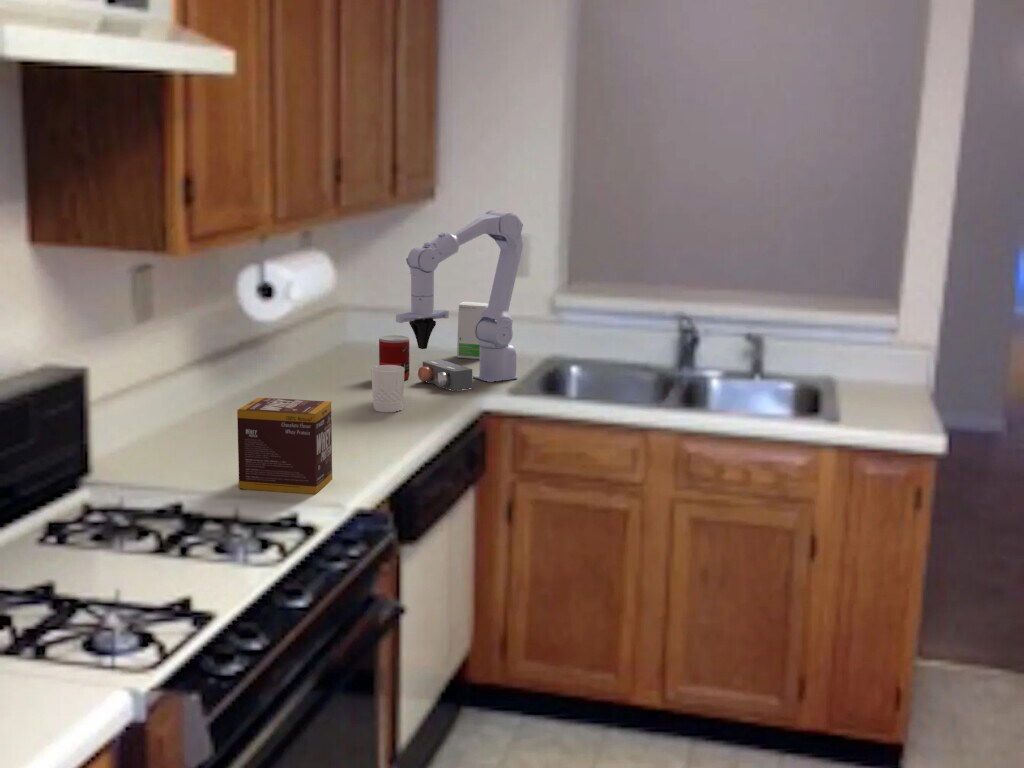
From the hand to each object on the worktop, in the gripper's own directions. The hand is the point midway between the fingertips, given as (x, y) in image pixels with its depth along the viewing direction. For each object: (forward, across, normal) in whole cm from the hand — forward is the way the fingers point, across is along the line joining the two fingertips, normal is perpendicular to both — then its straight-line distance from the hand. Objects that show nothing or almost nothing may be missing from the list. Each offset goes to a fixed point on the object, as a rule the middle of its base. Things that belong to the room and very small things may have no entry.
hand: (422, 348), depth 323 cm
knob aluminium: (+10, -6, +4) cm, 12 cm away
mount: (+10, -8, 0) cm, 13 cm away
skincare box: (+11, -34, -28) cm, 46 cm away
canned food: (+11, 0, -14) cm, 18 cm away
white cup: (+11, +19, +15) cm, 26 cm away
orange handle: (+10, -6, -4) cm, 12 cm away
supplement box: (+11, +66, +57) cm, 88 cm away
